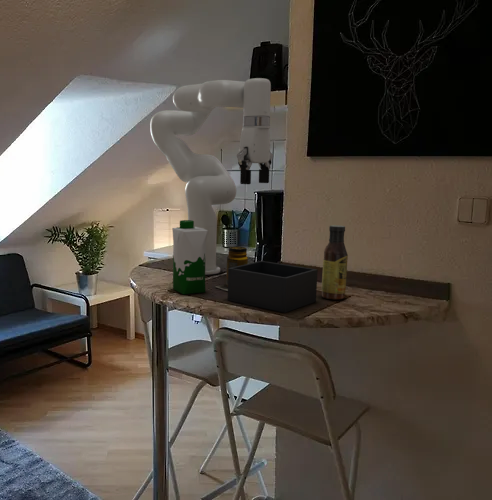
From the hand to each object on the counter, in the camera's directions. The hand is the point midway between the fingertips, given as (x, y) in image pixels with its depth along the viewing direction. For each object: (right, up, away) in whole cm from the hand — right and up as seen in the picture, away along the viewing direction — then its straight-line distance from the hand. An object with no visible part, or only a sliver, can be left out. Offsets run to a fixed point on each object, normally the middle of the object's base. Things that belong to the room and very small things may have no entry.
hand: (254, 183), depth 169 cm
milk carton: (-19, -31, -2) cm, 37 cm away
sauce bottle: (+20, -33, -10) cm, 39 cm away
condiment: (-6, -31, +1) cm, 31 cm away
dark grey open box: (+2, -33, -13) cm, 36 cm away
